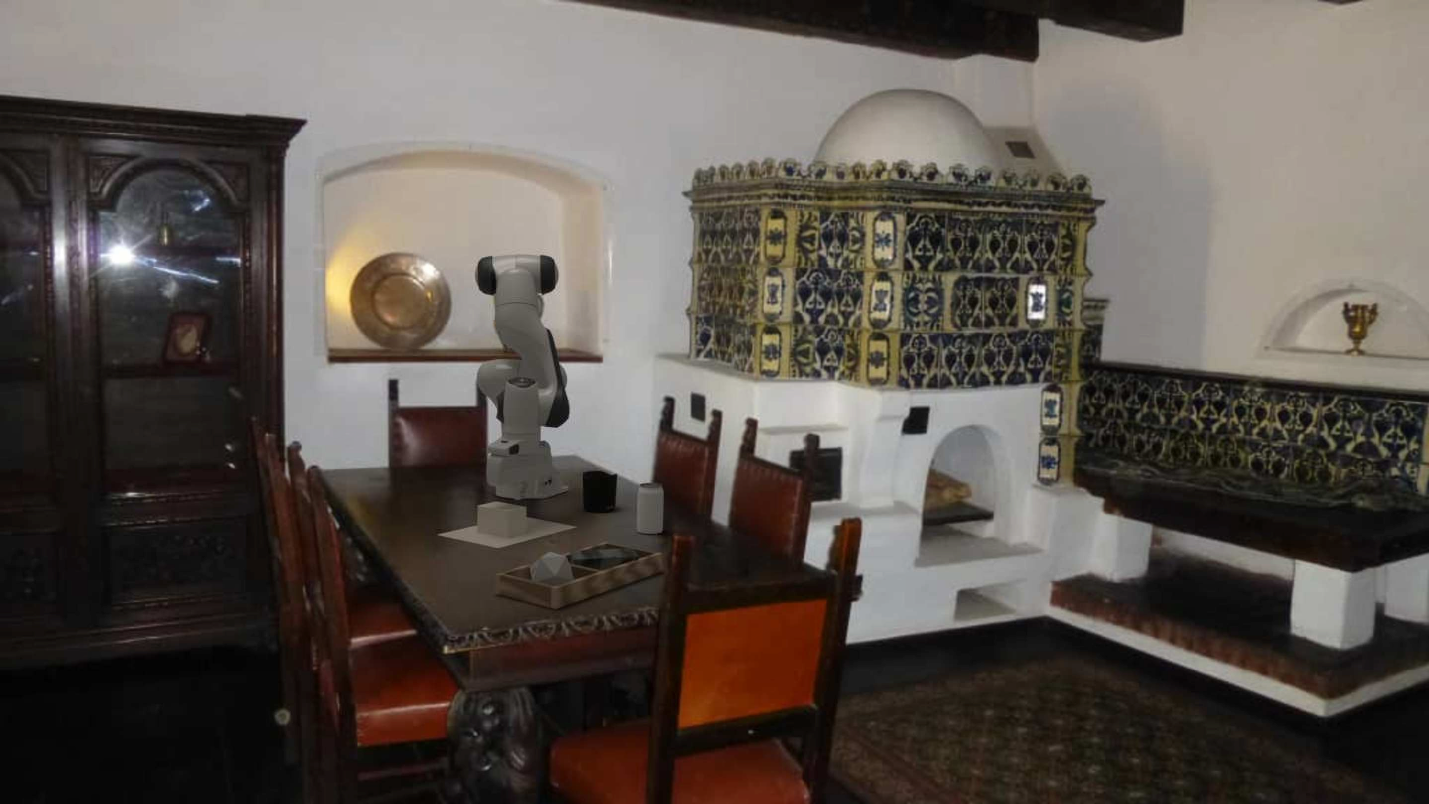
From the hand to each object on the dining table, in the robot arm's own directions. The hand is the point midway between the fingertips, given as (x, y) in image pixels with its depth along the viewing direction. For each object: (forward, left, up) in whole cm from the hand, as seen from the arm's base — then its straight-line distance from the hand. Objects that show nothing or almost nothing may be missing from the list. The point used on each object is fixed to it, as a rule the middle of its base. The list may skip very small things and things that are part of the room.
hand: (520, 499), depth 266 cm
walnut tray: (+26, +42, -8) cm, 50 cm away
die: (+35, +42, -8) cm, 56 cm away
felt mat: (+4, 0, -8) cm, 9 cm away
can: (-19, +26, -8) cm, 33 cm away
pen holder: (-31, 0, -8) cm, 32 cm away
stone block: (+19, +42, -8) cm, 46 cm away
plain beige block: (+3, 0, -4) cm, 5 cm away
